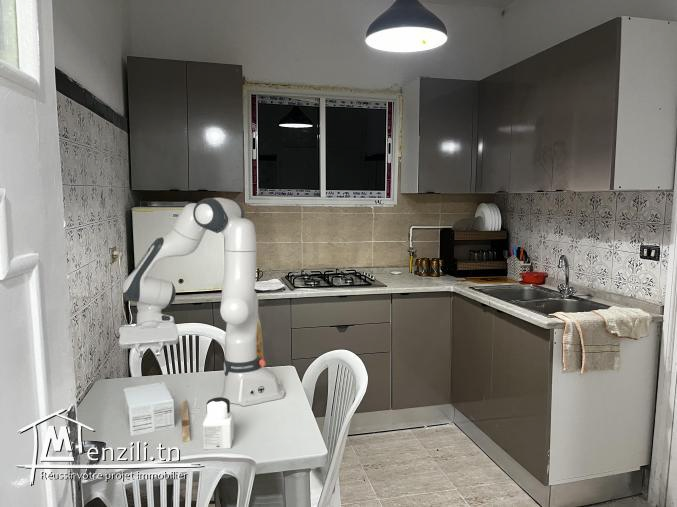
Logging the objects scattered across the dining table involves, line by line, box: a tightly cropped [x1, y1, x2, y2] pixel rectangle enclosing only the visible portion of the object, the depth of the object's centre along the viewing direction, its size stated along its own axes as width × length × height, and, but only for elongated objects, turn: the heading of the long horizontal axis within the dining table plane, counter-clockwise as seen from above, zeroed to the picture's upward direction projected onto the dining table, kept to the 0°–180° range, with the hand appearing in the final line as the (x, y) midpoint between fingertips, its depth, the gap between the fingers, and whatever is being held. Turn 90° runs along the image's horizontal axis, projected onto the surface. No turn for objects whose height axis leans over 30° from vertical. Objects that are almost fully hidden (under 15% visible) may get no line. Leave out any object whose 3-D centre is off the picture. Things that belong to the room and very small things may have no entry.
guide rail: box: [180, 400, 191, 443], centre depth 159 cm, size 2×26×2 cm, turn 18°
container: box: [202, 396, 235, 450], centre depth 145 cm, size 8×8×13 cm
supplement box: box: [123, 381, 175, 437], centre depth 159 cm, size 17×13×9 cm
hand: (149, 356), depth 178 cm, fingers open, 4 cm apart
